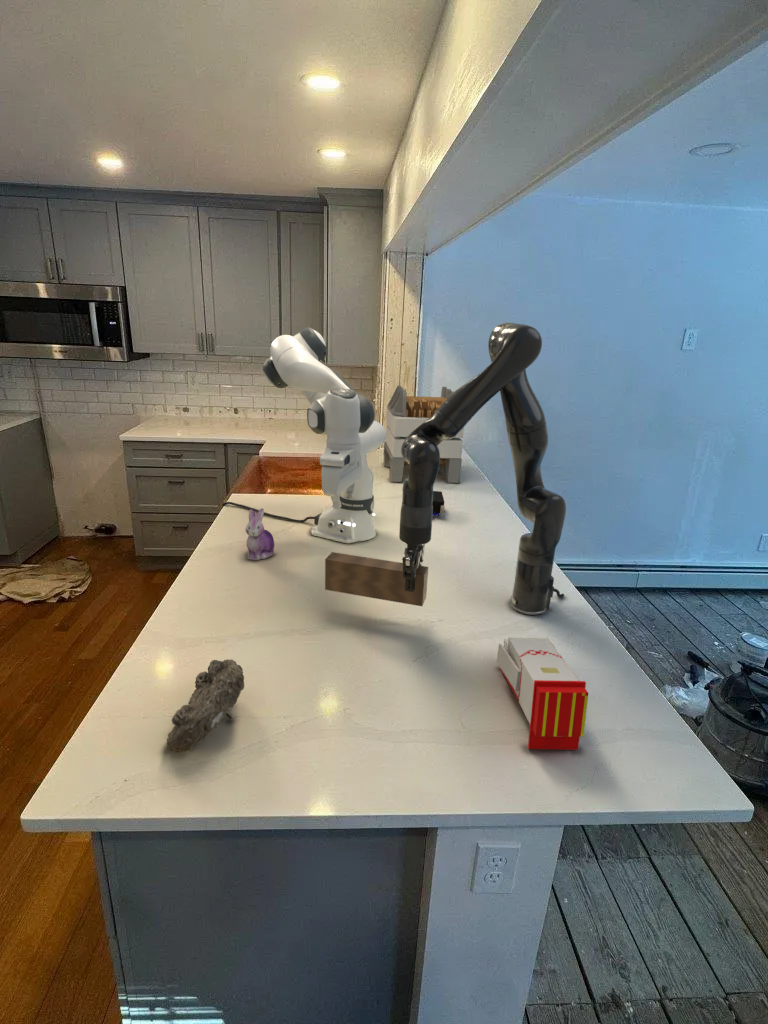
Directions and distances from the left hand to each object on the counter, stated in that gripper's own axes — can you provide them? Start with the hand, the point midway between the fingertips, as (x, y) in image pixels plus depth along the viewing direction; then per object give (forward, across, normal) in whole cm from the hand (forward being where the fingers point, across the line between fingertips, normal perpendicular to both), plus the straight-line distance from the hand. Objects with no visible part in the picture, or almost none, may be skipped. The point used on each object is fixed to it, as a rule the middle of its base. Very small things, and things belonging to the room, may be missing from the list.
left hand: (343, 502), depth 152 cm
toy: (+27, +33, +54) cm, 69 cm away
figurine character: (+25, -70, +11) cm, 75 cm away
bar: (+18, +14, +14) cm, 27 cm away
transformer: (+24, -124, -8) cm, 127 cm away
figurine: (+24, -10, -32) cm, 41 cm away
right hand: (+14, +14, +23) cm, 30 cm away
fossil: (+25, +59, -4) cm, 65 cm away
